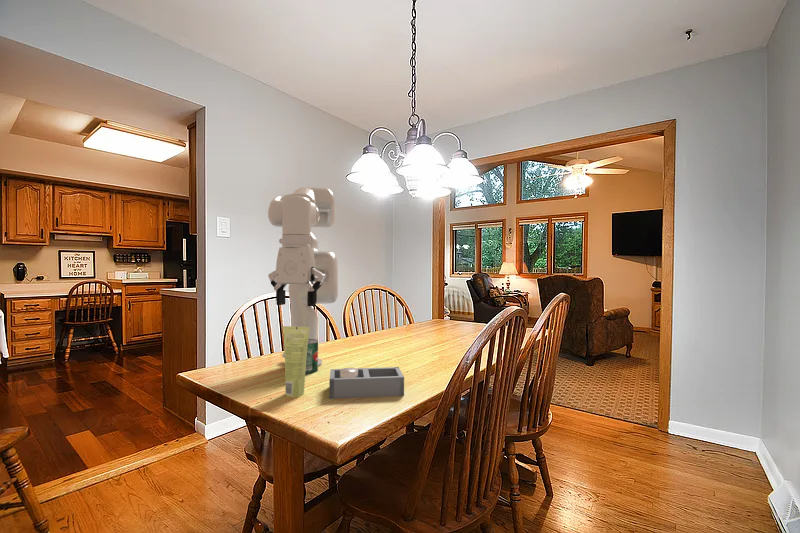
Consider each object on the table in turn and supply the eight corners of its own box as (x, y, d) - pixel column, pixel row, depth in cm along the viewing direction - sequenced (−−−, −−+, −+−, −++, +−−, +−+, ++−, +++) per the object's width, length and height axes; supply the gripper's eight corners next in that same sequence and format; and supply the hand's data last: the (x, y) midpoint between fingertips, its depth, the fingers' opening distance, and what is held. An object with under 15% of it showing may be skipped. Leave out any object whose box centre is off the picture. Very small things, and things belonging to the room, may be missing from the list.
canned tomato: (289, 373, 129) (289, 340, 129) (310, 369, 134) (310, 337, 134) (300, 378, 123) (301, 344, 123) (322, 374, 128) (322, 341, 128)
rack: (329, 402, 102) (329, 379, 102) (330, 389, 112) (330, 369, 112) (404, 399, 105) (404, 377, 105) (398, 387, 115) (398, 367, 115)
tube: (301, 392, 109) (301, 324, 109) (309, 397, 105) (310, 326, 105) (282, 397, 106) (282, 326, 105) (289, 402, 102) (290, 328, 102)
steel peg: (336, 393, 106) (336, 371, 106) (344, 387, 111) (344, 367, 111) (353, 395, 104) (353, 373, 104) (360, 389, 109) (360, 368, 109)
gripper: (261, 242, 104) (260, 305, 104) (317, 240, 99) (316, 307, 98) (278, 244, 111) (277, 303, 111) (331, 242, 106) (331, 305, 105)
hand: (296, 305), depth 105 cm, fingers open, 9 cm apart
